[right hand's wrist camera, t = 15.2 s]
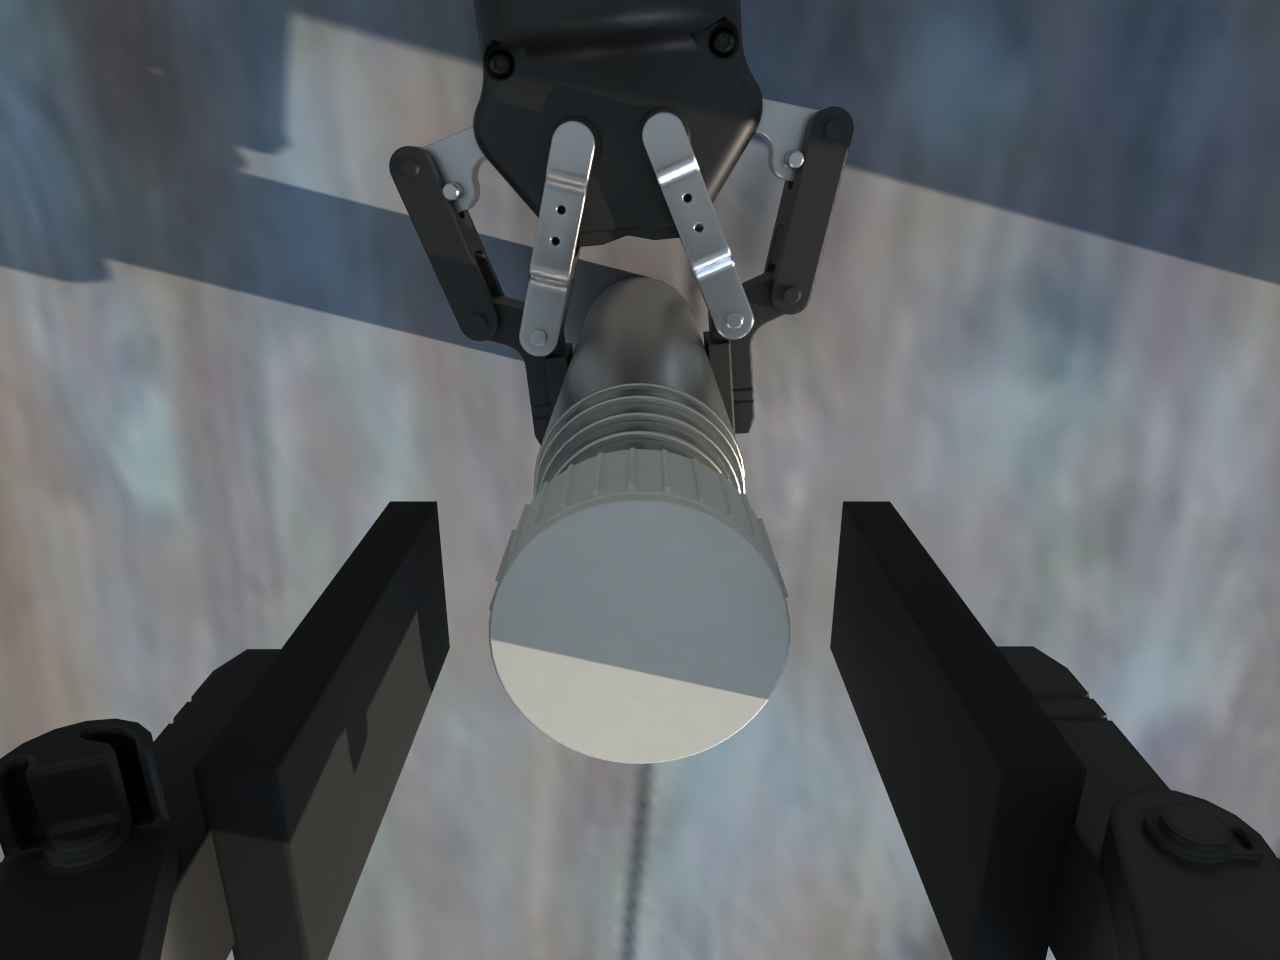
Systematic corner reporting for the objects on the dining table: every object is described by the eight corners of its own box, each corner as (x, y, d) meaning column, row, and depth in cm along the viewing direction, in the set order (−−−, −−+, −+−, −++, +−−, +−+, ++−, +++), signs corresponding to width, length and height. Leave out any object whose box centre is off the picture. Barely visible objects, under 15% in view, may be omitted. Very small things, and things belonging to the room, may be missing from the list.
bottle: (602, 400, 35) (543, 774, 14) (569, 294, 34) (445, 527, 12) (708, 371, 35) (817, 711, 13) (679, 262, 34) (751, 446, 12)
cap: (807, 631, 15) (836, 710, 13) (574, 716, 16) (563, 804, 13) (715, 402, 14) (729, 447, 11) (462, 505, 14) (429, 566, 12)
